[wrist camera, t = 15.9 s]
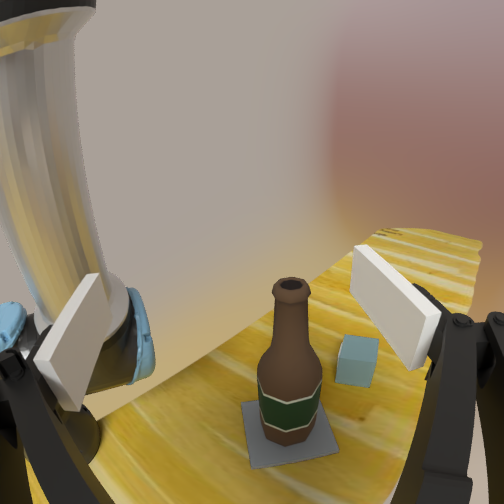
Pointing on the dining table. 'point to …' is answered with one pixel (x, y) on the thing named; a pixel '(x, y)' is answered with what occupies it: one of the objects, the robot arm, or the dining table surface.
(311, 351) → the beer bottle
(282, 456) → the mat
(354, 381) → the letter block
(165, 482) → the dining table surface
